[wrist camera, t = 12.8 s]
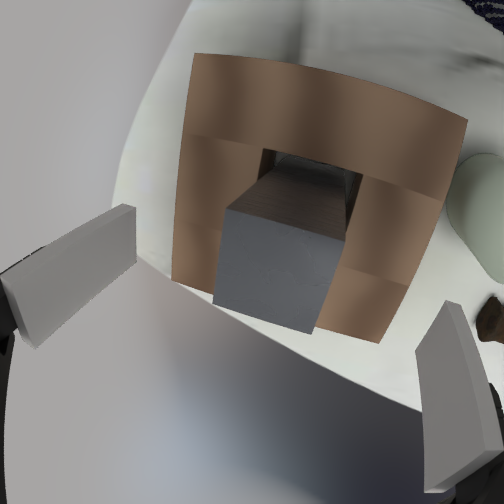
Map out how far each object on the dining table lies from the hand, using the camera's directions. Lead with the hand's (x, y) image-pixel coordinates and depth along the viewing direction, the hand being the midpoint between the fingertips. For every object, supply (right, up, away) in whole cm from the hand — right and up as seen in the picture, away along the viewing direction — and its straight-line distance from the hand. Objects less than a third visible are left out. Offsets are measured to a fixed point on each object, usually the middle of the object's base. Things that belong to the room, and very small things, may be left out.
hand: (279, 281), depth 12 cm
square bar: (+4, +6, +12) cm, 14 cm away
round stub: (+18, +5, +8) cm, 21 cm away
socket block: (+4, +6, +12) cm, 14 cm away
